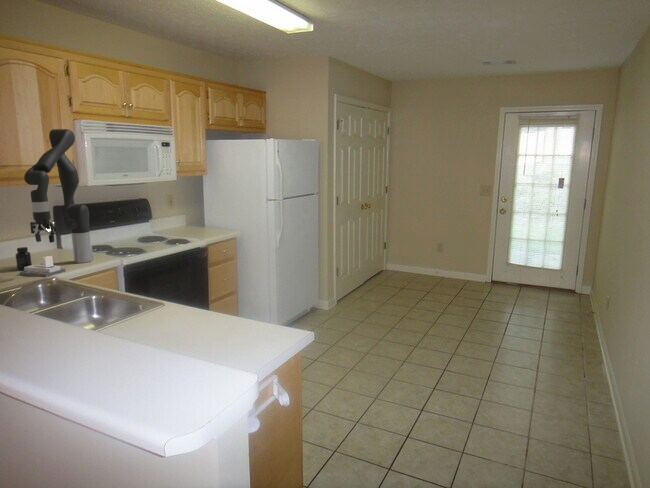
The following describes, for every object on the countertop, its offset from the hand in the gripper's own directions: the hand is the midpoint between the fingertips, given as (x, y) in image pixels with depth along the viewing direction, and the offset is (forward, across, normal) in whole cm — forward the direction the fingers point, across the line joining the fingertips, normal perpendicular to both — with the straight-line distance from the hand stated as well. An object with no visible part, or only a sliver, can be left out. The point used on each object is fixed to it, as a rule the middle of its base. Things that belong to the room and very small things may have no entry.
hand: (45, 241), depth 230 cm
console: (+17, +4, 0) cm, 17 cm away
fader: (+15, 0, 0) cm, 15 cm away
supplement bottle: (+17, +22, -5) cm, 28 cm away
